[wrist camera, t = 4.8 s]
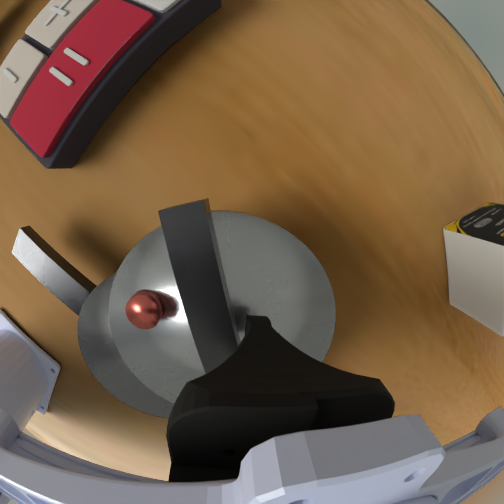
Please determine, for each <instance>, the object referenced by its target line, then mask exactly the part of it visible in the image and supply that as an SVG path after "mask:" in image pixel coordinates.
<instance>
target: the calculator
mask: <svg viewBox="0 0 504 504" xmlns="http://www.w3.org/2000/svg"><path fill="white" fill-rule="evenodd" d="M220 7H221V0H51V1H50V2H49V3H48V4H47V5H46V6H45V7H44V9H43V10H42V11H41V12H40V13H39V14H38V16H37V17H36V18H35V19H34V20H33V22H32V23H31V24H30V25H29V27H28V28H27V29H26V31H25V33H26V34H25V35H24V37H23V38H22V39H19V40H18V41H17V43H16V44H15V45H14V47H13V48H12V50H11V51H10V53H9V54H8V56H7V57H6V59H5V60H4V62H3V63H2V65H1V67H0V118H1V119H2V120H3V122H4V123H5V124H6V125H7V126H8V127H9V129H10V130H11V131H12V132H13V133H14V134H15V135H16V137H17V138H18V139H19V140H20V141H21V142H22V143H23V144H24V145H25V147H26V148H27V149H28V150H29V151H30V152H31V153H32V154H33V155H34V156H35V157H36V158H37V159H38V160H39V162H40V163H41V164H42V165H43V166H44V167H46V168H48V169H56V168H72V167H73V166H74V165H75V164H76V162H77V161H78V159H79V157H80V156H81V154H82V153H83V151H84V150H85V148H86V147H87V145H88V144H89V142H90V141H91V139H92V138H93V137H94V135H95V134H96V132H97V131H98V130H99V128H100V127H101V126H102V124H103V123H104V121H105V120H106V119H107V118H108V116H109V115H110V114H111V112H112V111H113V110H114V109H115V107H116V106H117V105H118V104H119V102H120V101H121V100H122V99H123V97H124V96H125V95H126V94H127V92H128V91H129V90H130V89H131V88H132V86H133V85H134V84H135V83H136V82H137V81H138V79H139V78H140V77H141V76H142V75H143V74H144V73H145V72H146V71H147V69H148V68H149V67H150V66H151V65H152V64H153V63H154V62H155V61H156V60H157V59H158V58H159V57H160V56H161V55H162V54H163V53H164V52H165V51H166V50H167V49H168V48H169V47H170V46H171V45H172V44H173V43H175V42H177V41H179V40H180V39H182V38H183V37H184V36H185V35H186V34H187V33H189V32H190V31H191V30H192V29H193V28H195V27H196V26H197V25H198V24H200V23H201V22H202V21H203V20H205V19H206V18H207V17H209V16H210V15H211V14H213V13H214V12H215V11H217V10H218V9H219V8H220Z"/></svg>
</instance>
